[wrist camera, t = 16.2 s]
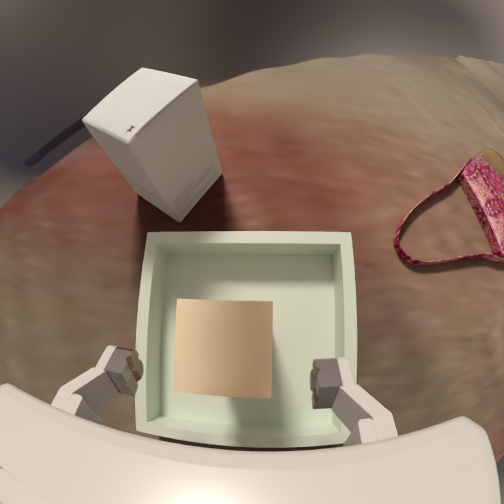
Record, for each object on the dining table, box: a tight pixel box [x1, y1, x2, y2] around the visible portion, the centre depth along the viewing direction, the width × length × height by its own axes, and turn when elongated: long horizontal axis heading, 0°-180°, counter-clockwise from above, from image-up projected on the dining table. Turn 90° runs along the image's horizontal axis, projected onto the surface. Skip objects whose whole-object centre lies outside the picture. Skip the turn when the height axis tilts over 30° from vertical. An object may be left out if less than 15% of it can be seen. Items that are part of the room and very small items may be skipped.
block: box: [174, 299, 273, 398], centre depth 16 cm, size 4×4×12 cm
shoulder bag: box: [394, 148, 504, 265], centre depth 24 cm, size 17×3×28 cm
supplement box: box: [82, 68, 222, 223], centre depth 22 cm, size 7×7×13 cm
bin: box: [135, 231, 357, 448], centre depth 21 cm, size 17×17×4 cm
